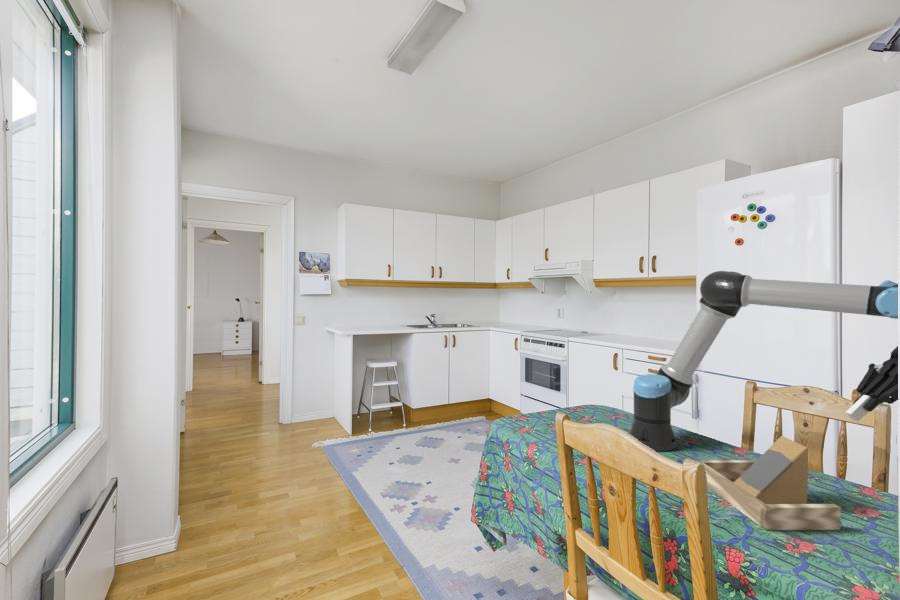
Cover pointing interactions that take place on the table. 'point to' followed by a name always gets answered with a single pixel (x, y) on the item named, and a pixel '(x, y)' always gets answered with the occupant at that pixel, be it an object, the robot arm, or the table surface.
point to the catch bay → (767, 513)
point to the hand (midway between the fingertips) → (851, 417)
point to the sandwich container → (778, 474)
